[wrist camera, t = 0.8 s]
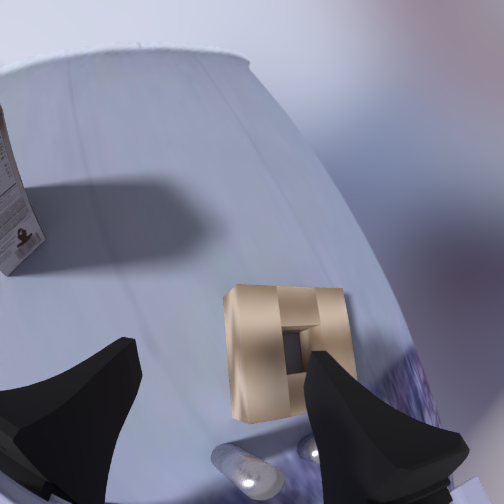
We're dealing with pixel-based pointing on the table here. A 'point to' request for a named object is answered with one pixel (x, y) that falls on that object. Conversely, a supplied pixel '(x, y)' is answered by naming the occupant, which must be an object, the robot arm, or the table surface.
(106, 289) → the table surface
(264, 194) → the table surface
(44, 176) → the table surface
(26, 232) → the coffee box
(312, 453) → the short stub
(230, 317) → the socket block
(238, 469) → the long pin
